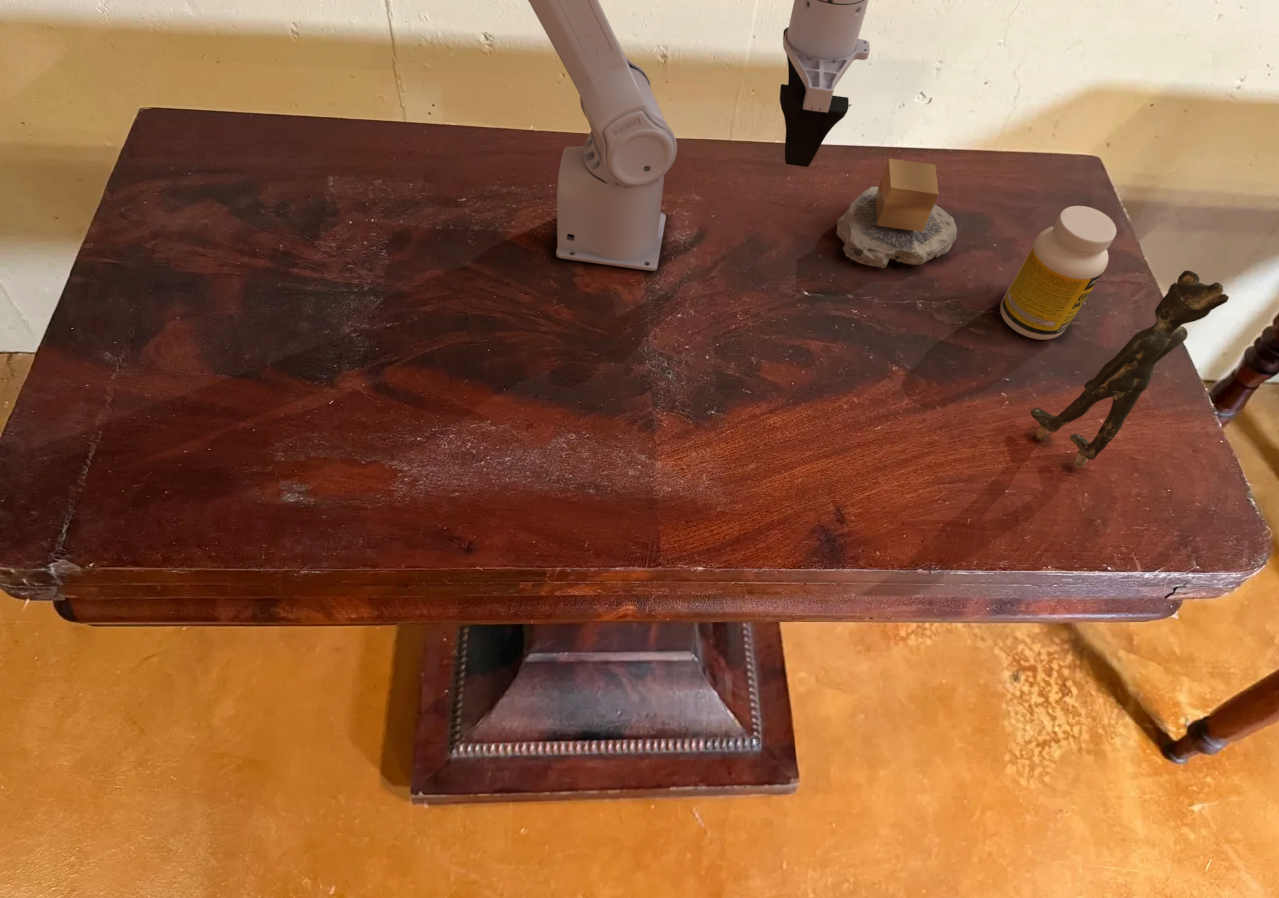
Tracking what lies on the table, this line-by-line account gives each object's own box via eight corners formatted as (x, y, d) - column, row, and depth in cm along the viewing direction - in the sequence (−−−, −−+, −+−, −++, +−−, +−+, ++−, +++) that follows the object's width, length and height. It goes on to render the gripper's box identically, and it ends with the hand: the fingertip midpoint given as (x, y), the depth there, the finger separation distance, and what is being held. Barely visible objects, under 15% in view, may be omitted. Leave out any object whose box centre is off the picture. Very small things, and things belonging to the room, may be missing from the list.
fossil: (872, 261, 81) (831, 176, 84) (852, 288, 84) (814, 205, 88) (972, 249, 85) (929, 168, 88) (950, 274, 88) (909, 196, 92)
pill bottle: (1062, 350, 80) (1125, 257, 71) (994, 330, 81) (1047, 235, 72) (1067, 305, 83) (1127, 211, 74) (1002, 286, 84) (1053, 191, 75)
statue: (1050, 410, 76) (1182, 224, 59) (1104, 465, 72) (1259, 285, 56) (1009, 428, 74) (1133, 243, 58) (1062, 485, 71) (1209, 306, 55)
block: (876, 225, 84) (890, 187, 80) (875, 196, 86) (888, 158, 83) (923, 232, 84) (938, 194, 80) (920, 202, 86) (935, 164, 83)
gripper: (889, 41, 65) (842, 193, 76) (882, -51, 74) (841, 98, 85) (793, 29, 65) (760, 182, 76) (797, -62, 74) (767, 88, 85)
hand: (797, 137), depth 80 cm, fingers open, 7 cm apart
